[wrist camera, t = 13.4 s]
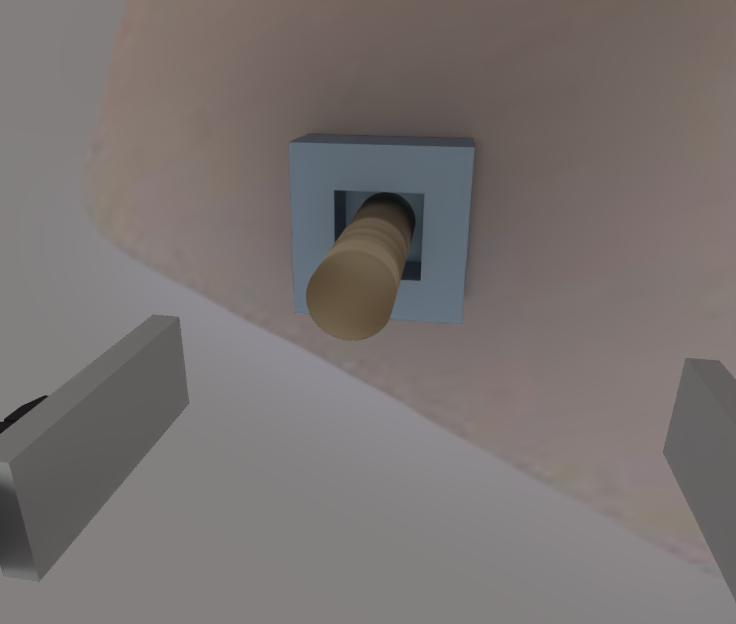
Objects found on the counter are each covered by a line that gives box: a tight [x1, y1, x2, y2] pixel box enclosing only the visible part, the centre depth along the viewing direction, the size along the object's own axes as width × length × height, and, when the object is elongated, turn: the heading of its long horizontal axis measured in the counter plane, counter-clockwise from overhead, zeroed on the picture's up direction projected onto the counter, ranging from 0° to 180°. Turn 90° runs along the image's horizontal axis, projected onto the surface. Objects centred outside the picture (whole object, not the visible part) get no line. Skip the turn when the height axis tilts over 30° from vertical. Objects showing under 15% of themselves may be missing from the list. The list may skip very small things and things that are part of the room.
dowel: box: [306, 192, 416, 340], centre depth 34 cm, size 4×4×15 cm
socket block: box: [288, 134, 475, 324], centre depth 39 cm, size 11×11×5 cm
